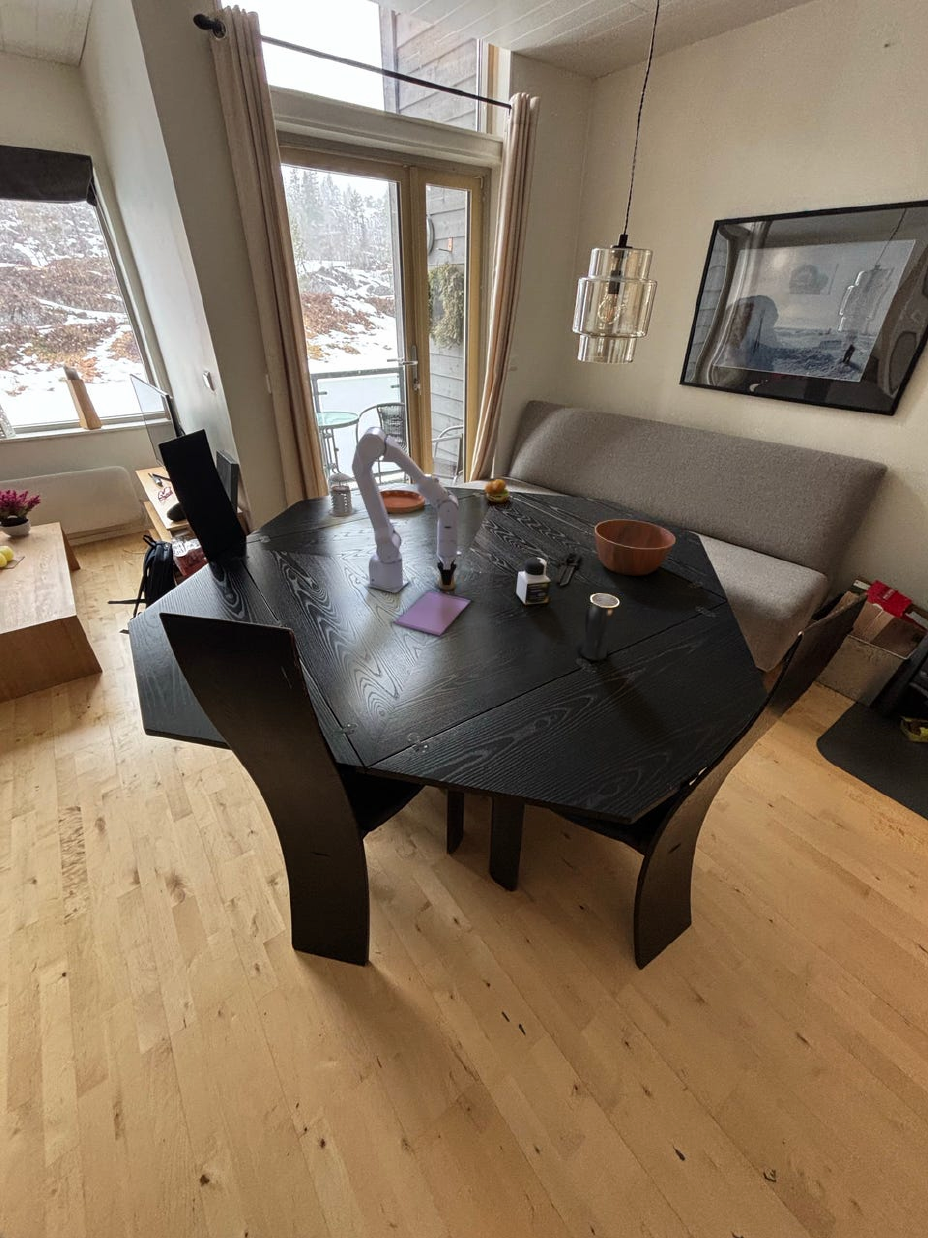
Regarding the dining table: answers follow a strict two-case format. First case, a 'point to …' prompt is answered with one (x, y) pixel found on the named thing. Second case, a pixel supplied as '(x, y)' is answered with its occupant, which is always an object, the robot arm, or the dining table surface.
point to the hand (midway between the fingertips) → (446, 581)
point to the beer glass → (599, 625)
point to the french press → (336, 492)
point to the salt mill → (446, 587)
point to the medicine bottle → (533, 582)
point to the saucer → (402, 500)
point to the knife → (570, 568)
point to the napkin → (433, 613)
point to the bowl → (632, 546)
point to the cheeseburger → (497, 491)
